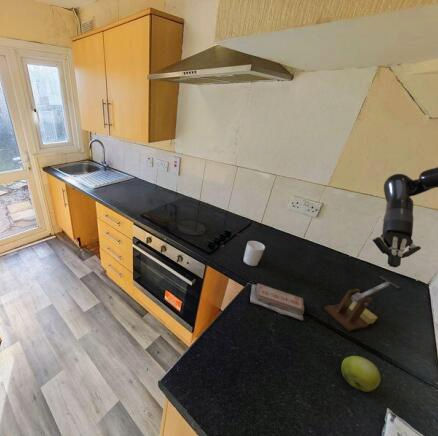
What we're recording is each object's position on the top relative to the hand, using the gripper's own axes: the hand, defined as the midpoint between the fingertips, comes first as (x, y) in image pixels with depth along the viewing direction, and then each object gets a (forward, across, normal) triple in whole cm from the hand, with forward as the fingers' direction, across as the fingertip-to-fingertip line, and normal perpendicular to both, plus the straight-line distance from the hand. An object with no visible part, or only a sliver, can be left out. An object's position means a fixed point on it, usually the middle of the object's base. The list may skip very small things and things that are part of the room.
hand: (393, 266), depth 81 cm
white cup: (+10, -44, +19) cm, 49 cm away
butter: (+19, -4, +10) cm, 22 cm away
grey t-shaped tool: (+11, -4, +1) cm, 12 cm away
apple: (+41, -13, -12) cm, 45 cm away
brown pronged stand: (+22, -9, +7) cm, 25 cm away
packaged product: (+26, -33, +3) cm, 42 cm away
